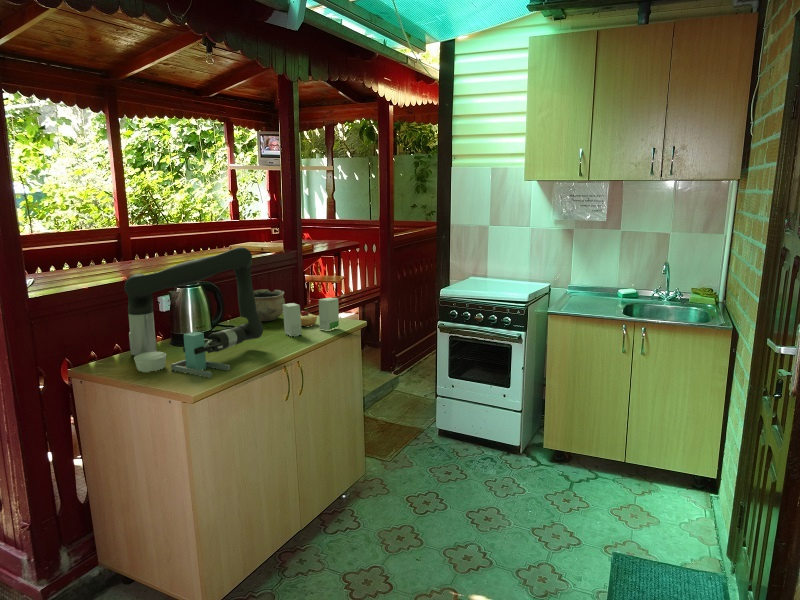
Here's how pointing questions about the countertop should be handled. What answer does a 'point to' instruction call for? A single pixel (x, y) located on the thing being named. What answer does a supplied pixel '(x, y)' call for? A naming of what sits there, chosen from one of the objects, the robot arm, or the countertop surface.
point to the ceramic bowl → (269, 304)
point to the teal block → (190, 344)
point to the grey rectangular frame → (182, 368)
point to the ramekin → (150, 361)
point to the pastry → (307, 318)
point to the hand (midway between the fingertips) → (189, 350)
